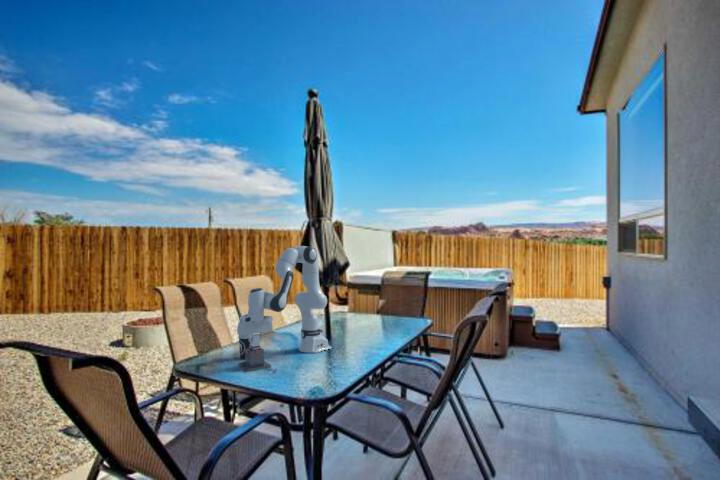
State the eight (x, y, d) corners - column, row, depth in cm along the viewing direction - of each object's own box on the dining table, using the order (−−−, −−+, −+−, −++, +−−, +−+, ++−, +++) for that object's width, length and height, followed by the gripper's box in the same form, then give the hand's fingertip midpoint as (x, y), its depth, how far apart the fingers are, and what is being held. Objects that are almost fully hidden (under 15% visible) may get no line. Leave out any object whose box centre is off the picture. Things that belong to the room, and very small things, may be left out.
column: (256, 361, 211) (257, 333, 212) (259, 363, 208) (260, 335, 208) (249, 363, 209) (250, 334, 209) (252, 365, 205) (253, 336, 206)
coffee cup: (248, 360, 219) (249, 335, 219) (234, 359, 221) (235, 334, 221) (256, 356, 228) (257, 332, 229) (242, 355, 230) (243, 331, 230)
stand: (260, 361, 218) (261, 344, 218) (270, 367, 207) (271, 349, 207) (237, 365, 209) (238, 348, 210) (246, 372, 198) (247, 353, 199)
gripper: (270, 314, 218) (269, 337, 218) (236, 317, 205) (235, 342, 205) (274, 315, 213) (274, 339, 213) (240, 319, 200) (239, 344, 200)
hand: (255, 340), depth 209 cm, fingers open, 4 cm apart
